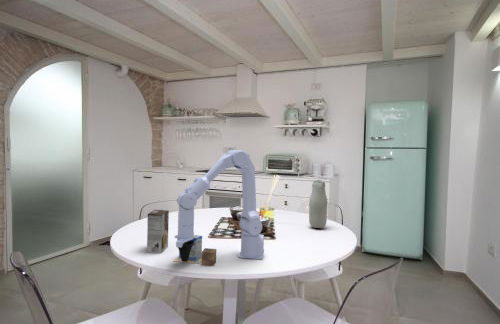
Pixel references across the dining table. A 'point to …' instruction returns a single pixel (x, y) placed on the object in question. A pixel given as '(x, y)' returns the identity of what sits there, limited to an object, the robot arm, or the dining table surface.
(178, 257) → the kraft envelope
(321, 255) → the dining table surface
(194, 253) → the medicine box
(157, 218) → the coffee box
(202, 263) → the walnut cube
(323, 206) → the grey bottle
